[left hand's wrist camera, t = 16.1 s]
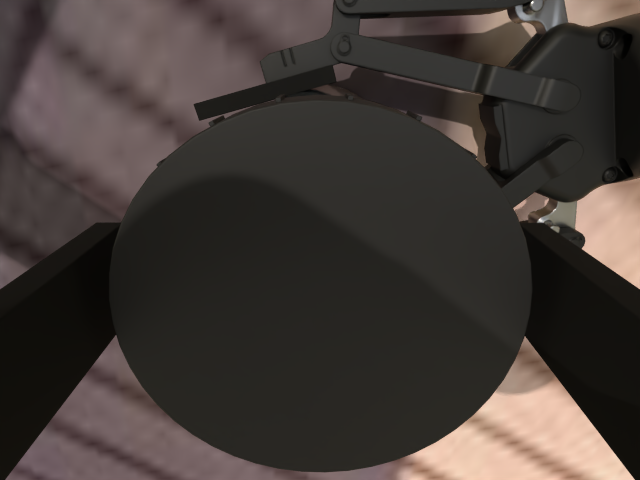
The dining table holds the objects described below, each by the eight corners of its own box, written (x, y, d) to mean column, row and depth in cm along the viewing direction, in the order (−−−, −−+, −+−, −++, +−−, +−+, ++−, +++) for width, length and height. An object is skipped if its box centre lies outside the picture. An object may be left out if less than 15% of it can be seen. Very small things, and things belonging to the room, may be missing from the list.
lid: (485, 426, 13) (506, 472, 12) (164, 433, 13) (145, 478, 12) (534, 87, 10) (573, 90, 8) (97, 99, 10) (58, 104, 8)
